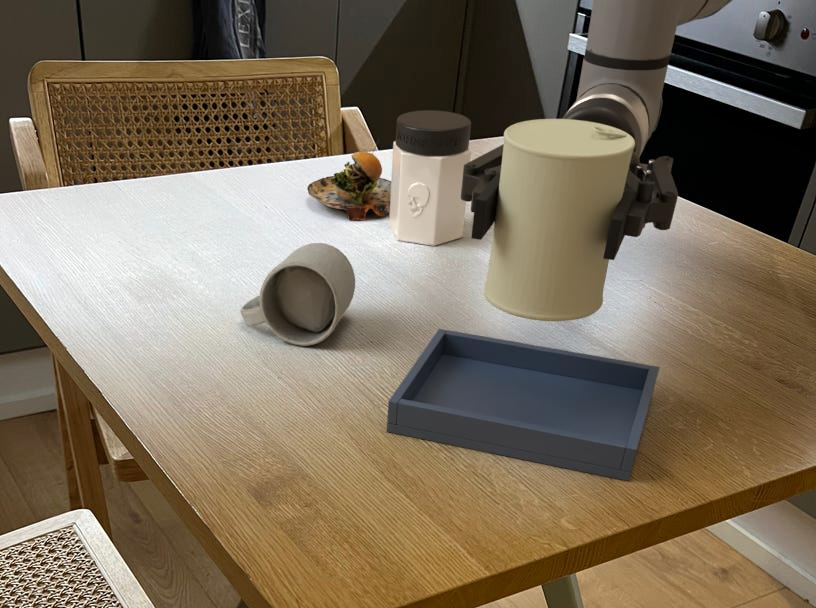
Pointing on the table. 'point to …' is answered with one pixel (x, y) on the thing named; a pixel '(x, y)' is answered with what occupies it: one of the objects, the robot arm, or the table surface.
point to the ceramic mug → (304, 295)
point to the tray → (526, 402)
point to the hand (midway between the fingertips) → (544, 229)
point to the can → (555, 217)
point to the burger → (355, 188)
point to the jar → (429, 176)
